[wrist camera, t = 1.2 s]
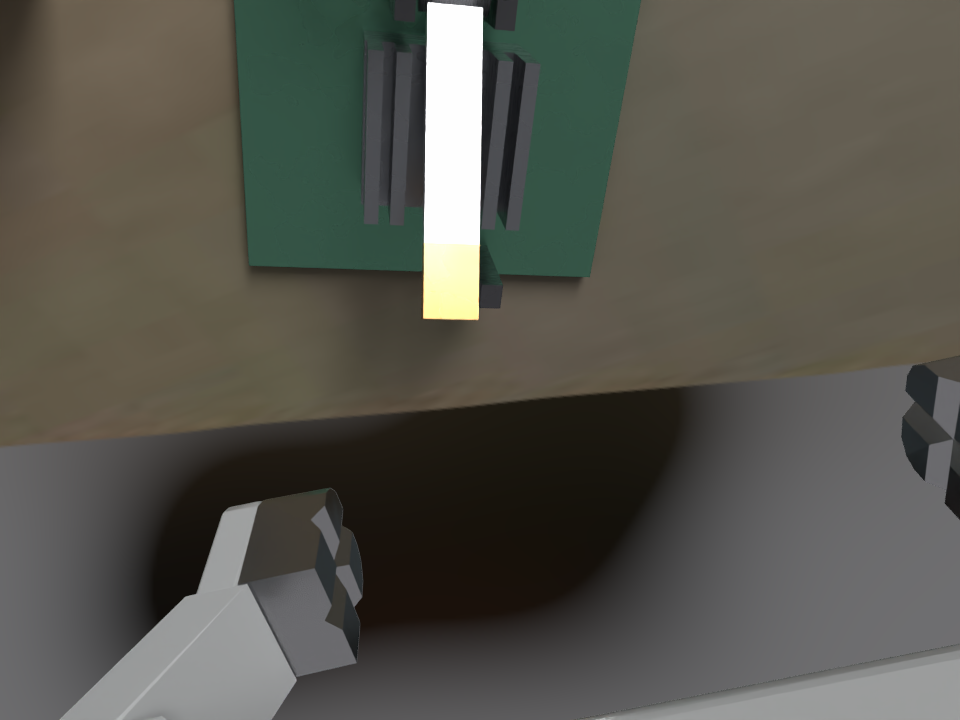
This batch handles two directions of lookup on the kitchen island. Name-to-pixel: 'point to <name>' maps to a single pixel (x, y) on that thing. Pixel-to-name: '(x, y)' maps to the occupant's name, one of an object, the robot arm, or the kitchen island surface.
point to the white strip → (452, 158)
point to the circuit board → (400, 132)
